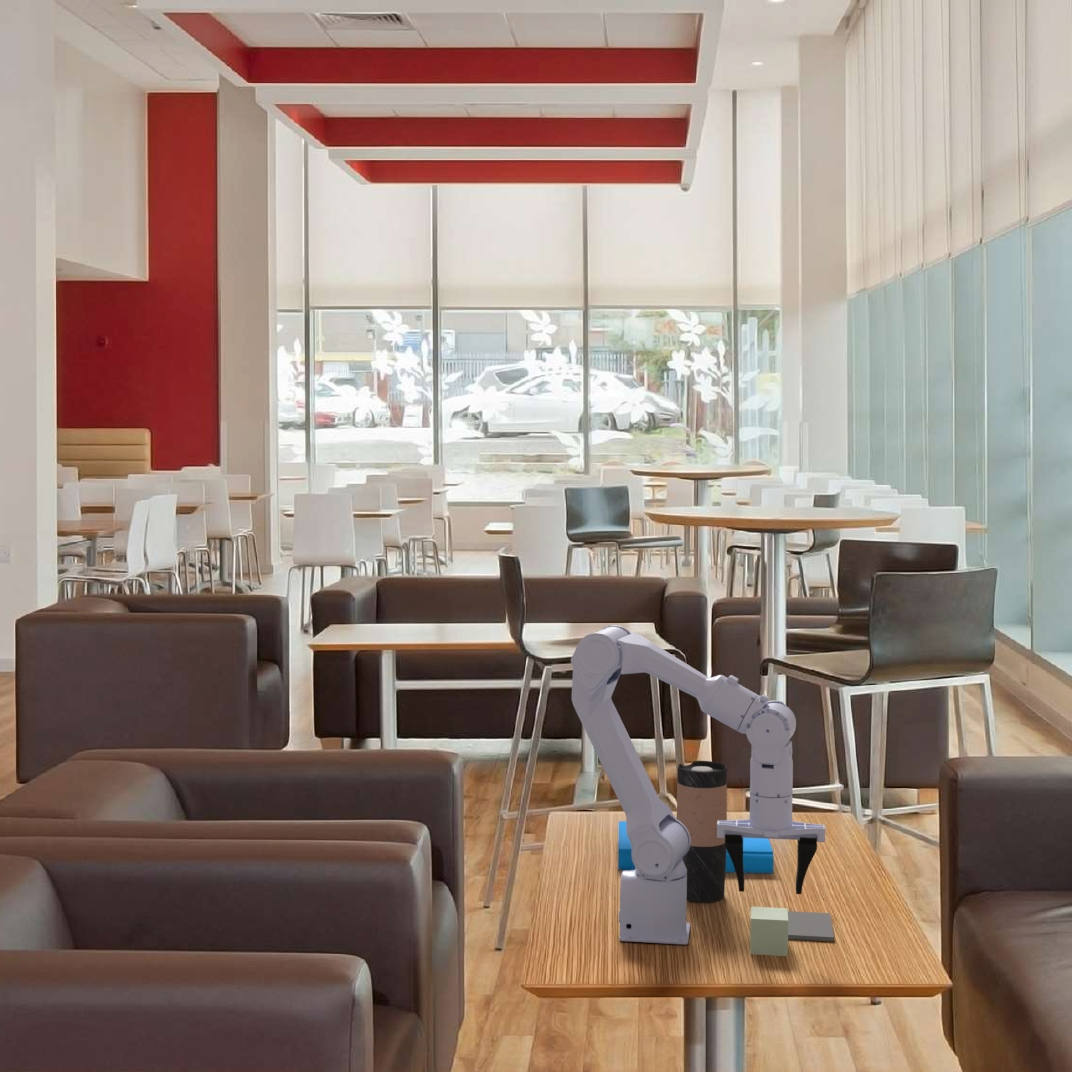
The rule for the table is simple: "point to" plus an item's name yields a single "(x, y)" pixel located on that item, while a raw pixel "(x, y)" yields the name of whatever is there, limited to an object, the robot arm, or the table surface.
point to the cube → (769, 931)
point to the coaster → (810, 926)
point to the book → (754, 854)
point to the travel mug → (703, 827)
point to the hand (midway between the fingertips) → (770, 890)
